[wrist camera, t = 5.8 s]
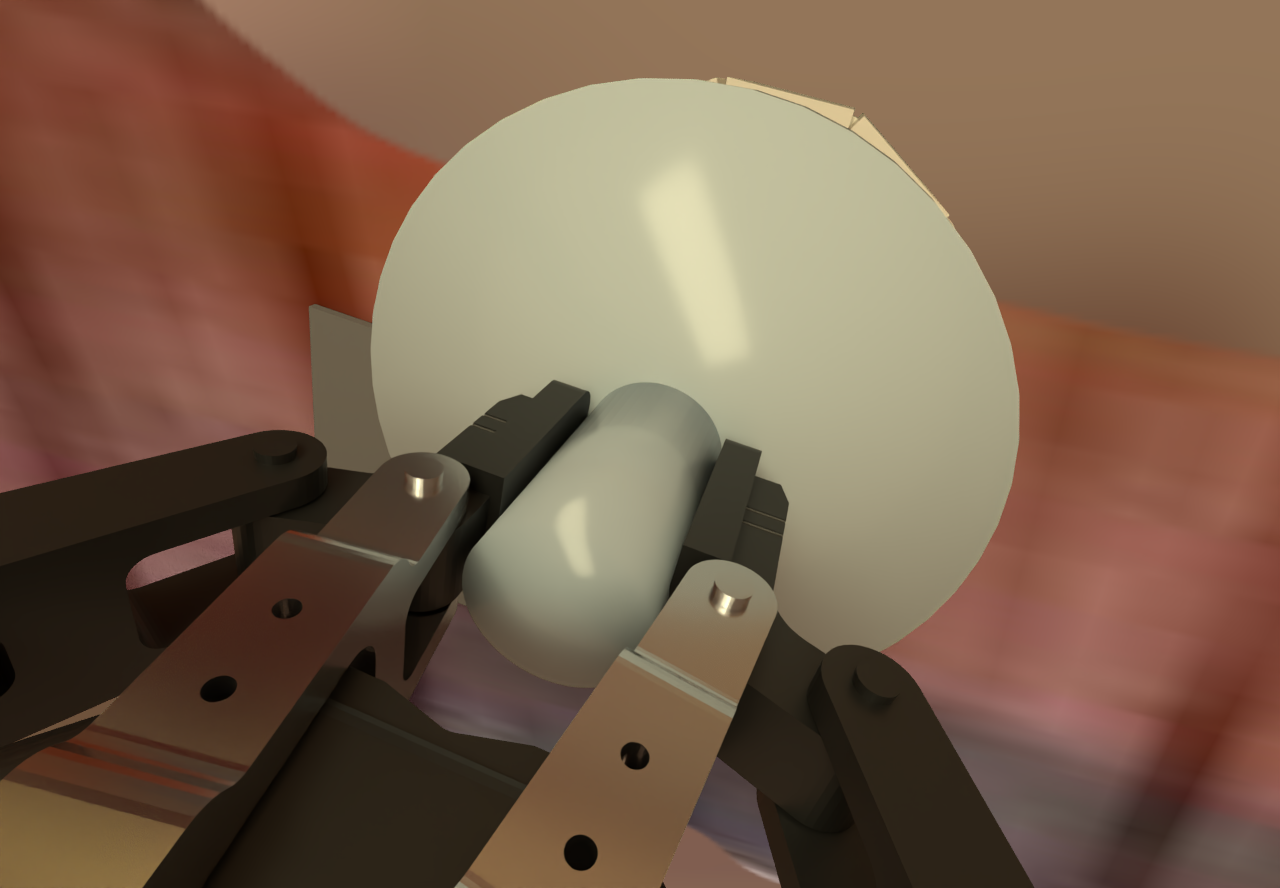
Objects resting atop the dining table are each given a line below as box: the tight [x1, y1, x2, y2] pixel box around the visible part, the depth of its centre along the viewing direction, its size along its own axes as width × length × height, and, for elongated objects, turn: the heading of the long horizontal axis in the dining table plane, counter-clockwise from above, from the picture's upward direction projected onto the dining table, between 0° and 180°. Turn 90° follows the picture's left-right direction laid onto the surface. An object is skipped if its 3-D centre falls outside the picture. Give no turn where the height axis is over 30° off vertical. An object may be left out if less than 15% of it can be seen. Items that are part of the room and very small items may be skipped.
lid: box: [371, 78, 1019, 688], centre depth 12 cm, size 13×13×6 cm
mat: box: [309, 304, 467, 606], centre depth 32 cm, size 14×14×1 cm
